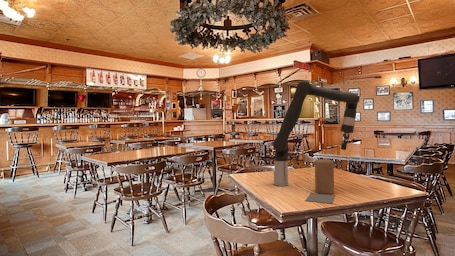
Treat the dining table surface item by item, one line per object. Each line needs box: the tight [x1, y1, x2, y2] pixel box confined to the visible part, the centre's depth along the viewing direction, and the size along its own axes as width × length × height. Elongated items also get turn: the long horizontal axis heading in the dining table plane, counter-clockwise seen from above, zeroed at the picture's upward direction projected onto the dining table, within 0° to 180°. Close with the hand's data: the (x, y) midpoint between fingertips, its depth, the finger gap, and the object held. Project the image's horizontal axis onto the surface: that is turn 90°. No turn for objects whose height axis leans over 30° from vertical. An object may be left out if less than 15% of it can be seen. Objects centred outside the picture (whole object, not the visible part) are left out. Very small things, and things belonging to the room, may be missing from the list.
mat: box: [304, 192, 336, 205], centre depth 154 cm, size 14×17×1 cm
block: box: [314, 158, 335, 195], centre depth 167 cm, size 10×10×20 cm
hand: (343, 149), depth 171 cm, fingers open, 8 cm apart
